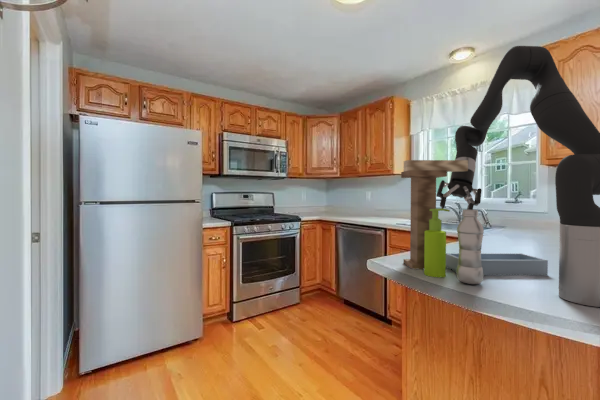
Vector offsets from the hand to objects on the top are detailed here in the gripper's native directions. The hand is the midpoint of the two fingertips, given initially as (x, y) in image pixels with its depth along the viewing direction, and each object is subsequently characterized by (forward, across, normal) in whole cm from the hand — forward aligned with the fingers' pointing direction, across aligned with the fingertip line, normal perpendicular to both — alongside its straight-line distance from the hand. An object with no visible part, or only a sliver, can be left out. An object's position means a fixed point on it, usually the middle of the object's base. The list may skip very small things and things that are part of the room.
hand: (455, 211), depth 106 cm
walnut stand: (+23, -7, -2) cm, 25 cm away
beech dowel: (-6, -11, -14) cm, 19 cm away
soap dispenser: (+27, -4, -12) cm, 30 cm away
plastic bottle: (+28, +3, -19) cm, 34 cm away
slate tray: (+19, +13, -4) cm, 23 cm away
